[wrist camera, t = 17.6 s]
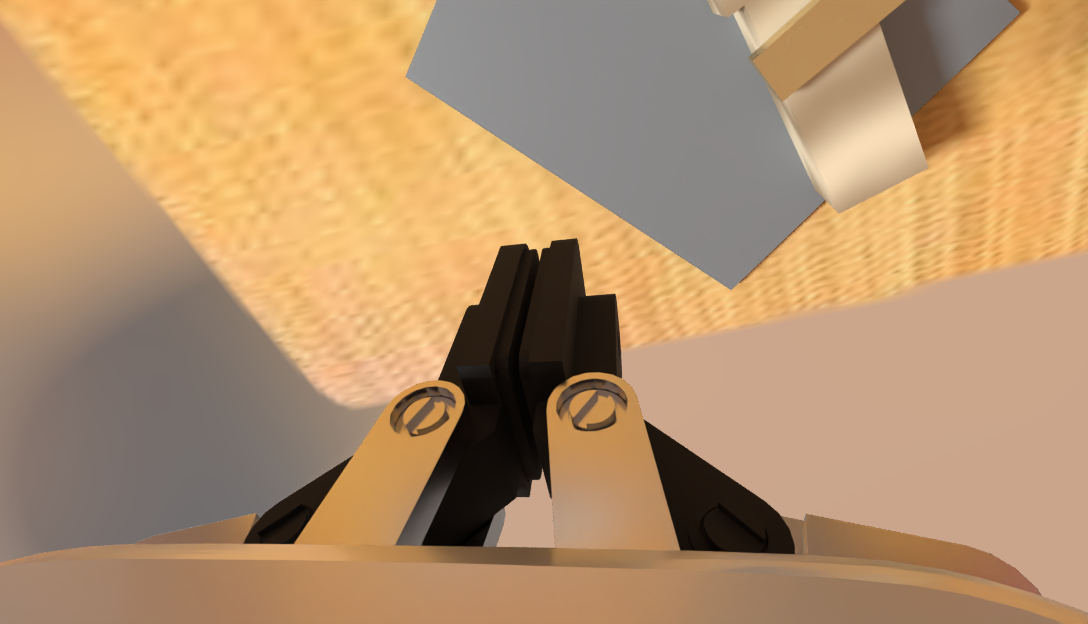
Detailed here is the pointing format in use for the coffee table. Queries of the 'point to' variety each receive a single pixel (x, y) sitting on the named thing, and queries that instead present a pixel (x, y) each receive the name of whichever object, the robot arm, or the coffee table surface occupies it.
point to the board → (665, 107)
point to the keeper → (815, 40)
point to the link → (841, 110)
